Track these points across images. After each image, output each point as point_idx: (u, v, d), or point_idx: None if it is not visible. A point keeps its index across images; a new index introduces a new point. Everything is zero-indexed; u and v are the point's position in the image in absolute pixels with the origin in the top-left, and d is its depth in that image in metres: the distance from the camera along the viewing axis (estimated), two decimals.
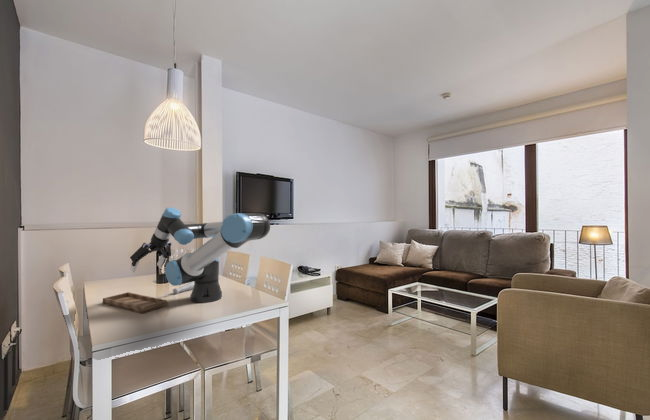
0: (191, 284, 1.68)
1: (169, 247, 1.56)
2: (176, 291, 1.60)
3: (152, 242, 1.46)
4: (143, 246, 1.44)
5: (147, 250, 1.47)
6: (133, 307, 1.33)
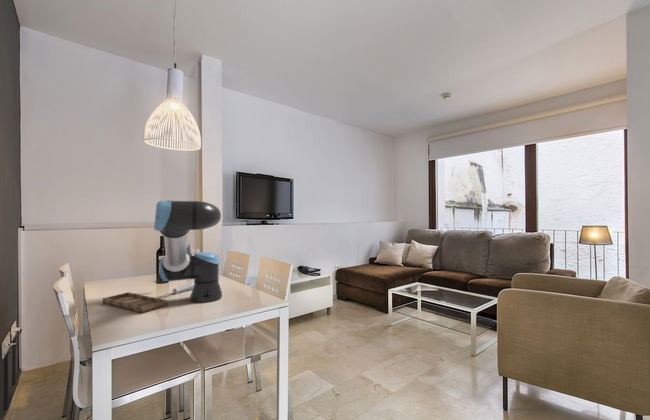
0: (191, 284, 1.68)
1: None
2: (176, 291, 1.59)
3: None
4: None
5: None
6: (133, 307, 1.33)
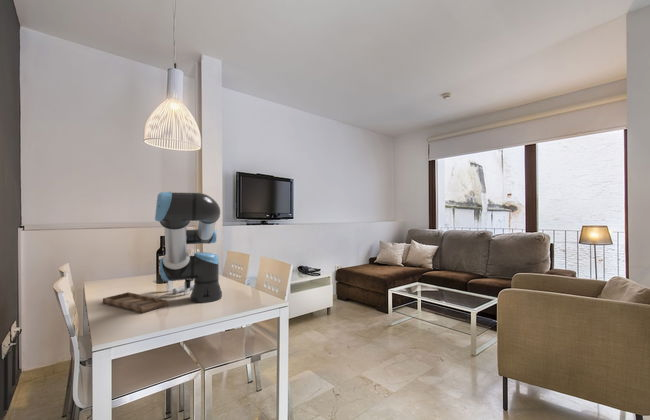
0: (191, 284, 1.68)
1: None
2: (175, 291, 1.59)
3: None
4: None
5: None
6: (133, 307, 1.33)
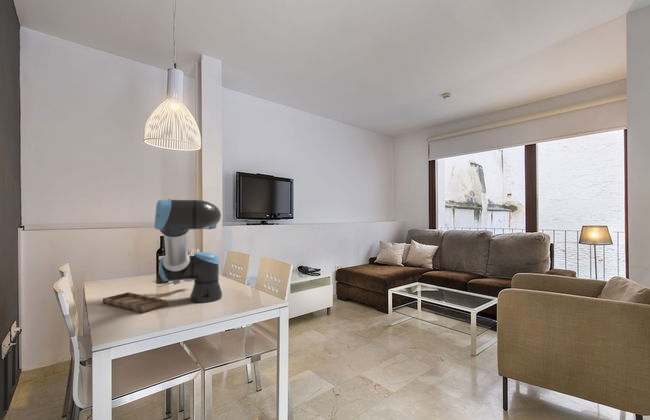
0: None
1: None
2: (176, 281, 1.59)
3: None
4: None
5: None
6: (133, 307, 1.33)
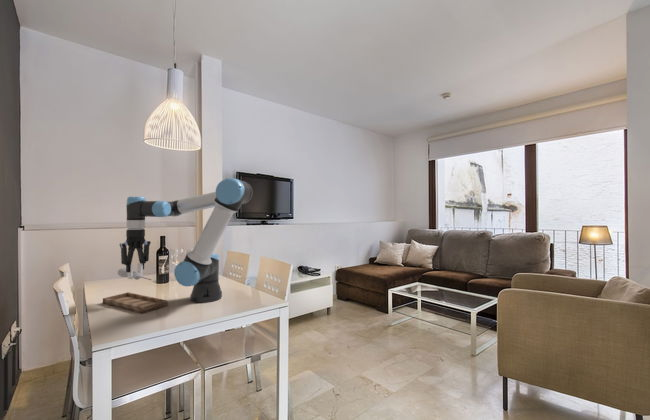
0: None
1: (148, 246, 1.46)
2: (140, 275, 1.42)
3: (128, 237, 1.39)
4: (121, 246, 1.37)
5: (130, 250, 1.40)
6: (133, 307, 1.33)
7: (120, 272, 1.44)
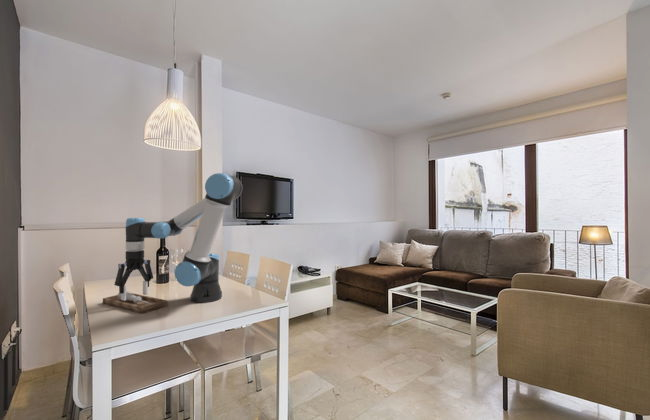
0: (129, 292, 1.47)
1: (149, 265, 1.47)
2: (140, 298, 1.42)
3: (127, 259, 1.38)
4: (120, 267, 1.36)
5: (128, 271, 1.38)
6: (133, 307, 1.33)
7: (120, 296, 1.44)
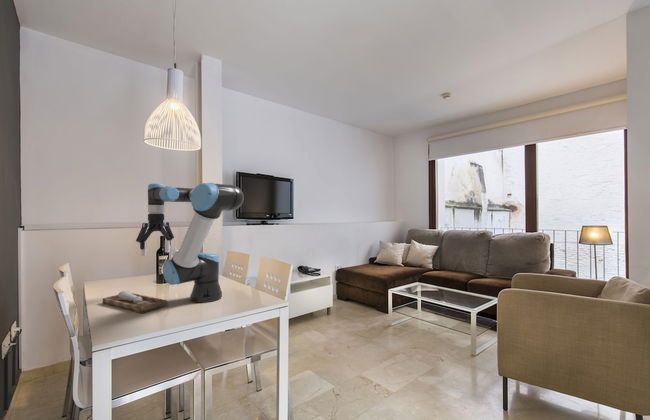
0: None
1: (168, 227, 1.61)
2: (140, 298, 1.42)
3: (150, 220, 1.52)
4: (143, 225, 1.49)
5: (149, 230, 1.52)
6: (133, 307, 1.33)
7: (120, 295, 1.44)
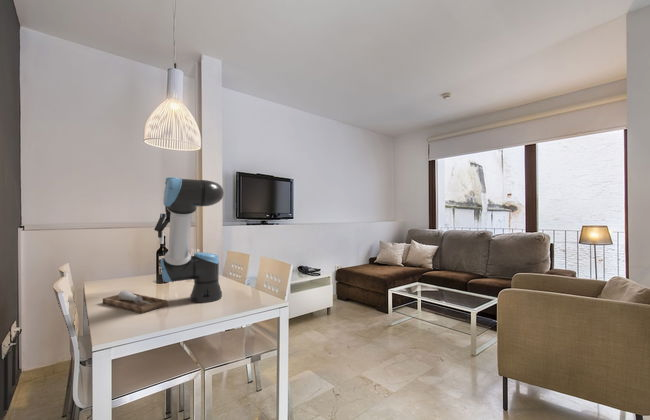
0: (130, 292, 1.47)
1: None
2: (141, 298, 1.42)
3: (167, 211, 1.65)
4: (161, 216, 1.62)
5: (166, 220, 1.65)
6: (133, 307, 1.33)
7: (120, 295, 1.44)
